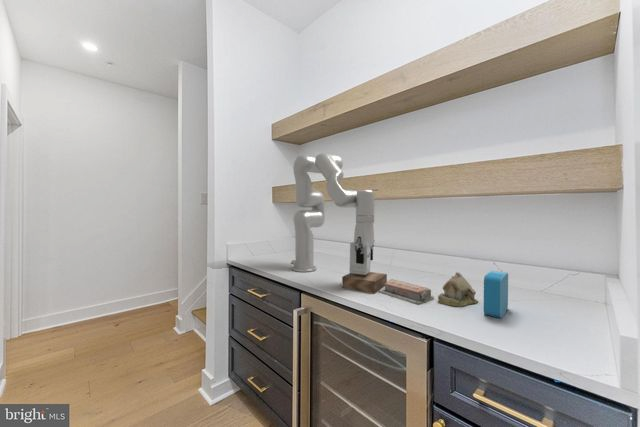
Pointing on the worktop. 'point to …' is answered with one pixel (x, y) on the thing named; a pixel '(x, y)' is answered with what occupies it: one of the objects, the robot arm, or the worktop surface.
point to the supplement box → (358, 267)
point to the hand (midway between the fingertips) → (364, 261)
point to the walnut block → (364, 282)
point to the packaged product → (407, 291)
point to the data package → (495, 293)
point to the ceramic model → (457, 292)
